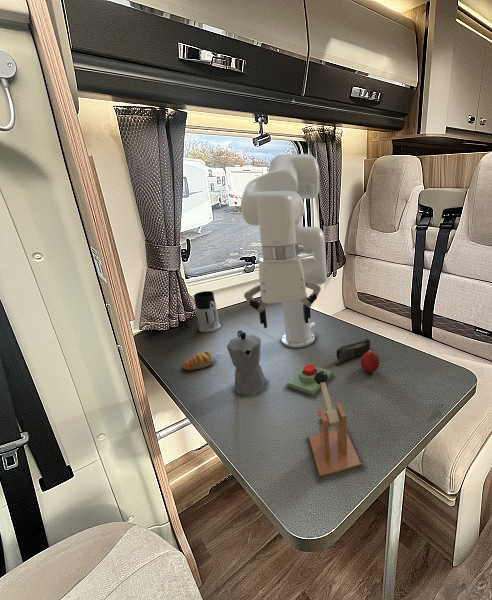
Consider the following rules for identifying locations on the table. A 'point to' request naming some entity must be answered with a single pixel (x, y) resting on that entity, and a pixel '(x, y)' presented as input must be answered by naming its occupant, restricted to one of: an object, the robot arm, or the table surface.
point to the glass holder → (206, 311)
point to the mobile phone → (353, 350)
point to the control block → (306, 381)
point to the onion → (370, 361)
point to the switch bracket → (333, 445)
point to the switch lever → (327, 399)
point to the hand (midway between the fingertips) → (286, 323)
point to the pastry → (198, 361)
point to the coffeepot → (246, 363)
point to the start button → (309, 370)
